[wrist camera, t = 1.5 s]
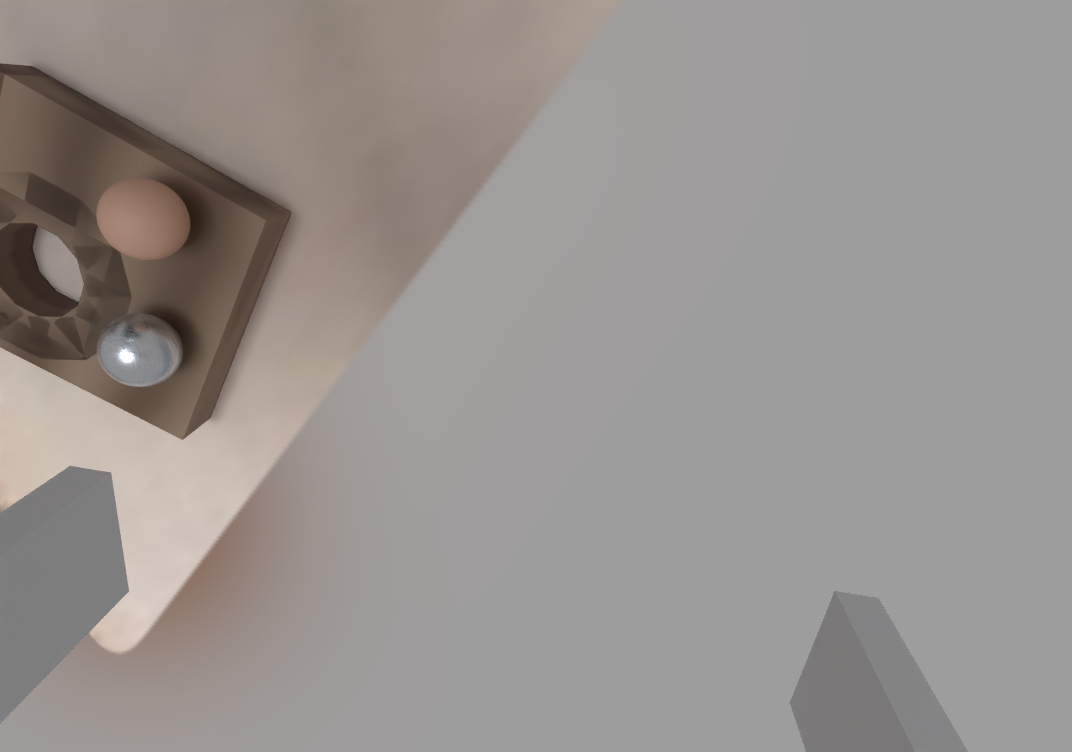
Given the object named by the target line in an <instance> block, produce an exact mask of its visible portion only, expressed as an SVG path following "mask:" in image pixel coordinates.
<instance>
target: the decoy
mask: <svg viewBox="0 0 1072 752" xmlns="http://www.w3.org/2000/svg"><path fill="white" fill-rule="evenodd" d="M96 216H97V223H98V226H99V229H100V231H101V233H102V235H103V236H104V238H105V239H106V240H107V241H108V243H109V244H110V245H112V246H113V247H114V248H115V249H117V250H118V251H119V252H121V253H123V254H125V255H127V256H129V257H132V258H136V259H141V260H157V259H162V258H165V257H168V256H170V255H172V254H174V253H175V252H177V251H178V250H179V249H180V248H181V247H182V246H183V245H184V243H185V242H186V240H187V238H188V235H189V232H190V216H189V213H188V210H187V208H186V206H185V204H184V202H183V201H182V199H181V198H180V197H179V196H178V195H177V194H176V193H175V192H174V191H173V190H172V189H170V188H169V187H167V186H166V185H164V184H162V183H160V182H157V181H154V180H151V179H146V178H129V179H125V180H121V181H119V182H117V183H115V184H113V185H111V186H110V187H109V188H108V189H107V190H106V191H105V192H104V193H103V194H102V196H101V198H100V200H99V202H98V205H97V212H96Z"/></svg>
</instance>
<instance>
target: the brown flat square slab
mask: <svg viewBox="0 0 1072 752" xmlns="http://www.w3.org/2000/svg"><path fill="white" fill-rule="evenodd" d="M129 178H146V179H151V180H154V181H157V182H160V183H162V184H164V185H166V186H167V187H169V188H170V189H172V190H173V191H174V192H175V193H176V194H177V195H178V196H179V197H180V198H181V199H182V201H183V202H184V204H185V206H186V208H187V210H188V213H189V216H190V232H189V235H188V238H187V240H186V242H185V243H184V245H183V246H182V247H181V248H180V249H179V250H178V251H177V252H175V253H174V254H172V255H170V256H168V257H165V258H162V259H157V260H141V259H136V258H132V257H129V256H127V255H125V254H123V253H121V252H119V251H118V250H117V249H115V248H114V247H113V246H112V245H110V244H109V243H108V241H107V240H106V239H105V238H104V236H103V235H102V233H101V231H100V229H99V226H98V223H97V216H96V212H97V205H98V202H99V200H100V198H101V196H102V194H103V193H104V192H105V191H106V190H107V189H108V188H109V187H110V186H111V185H113V184H115V183H117V182H119V181H121V180H125V179H129ZM290 213H291V212H289V211H287V210H286V209H284V208H282V207H280V206H278V205H277V204H275V203H273V202H271V201H270V200H268V199H266V198H264V197H263V196H261V195H259V194H257V193H255V192H254V191H252V190H250V189H248V188H247V187H245V186H243V185H241V184H240V183H238V182H236V181H234V180H232V179H231V178H229V177H227V176H225V175H224V174H222V173H220V172H218V171H216V170H215V169H213V168H211V167H209V166H208V165H206V164H204V163H202V162H201V161H199V160H197V159H195V158H193V157H192V156H190V155H188V154H186V153H185V152H183V151H181V150H179V149H177V148H176V147H174V146H172V145H170V144H169V143H167V142H165V141H163V140H162V139H160V138H158V137H156V136H154V135H153V134H151V133H149V132H147V131H146V130H144V129H142V128H140V127H138V126H137V125H135V124H133V123H131V122H130V121H128V120H126V119H124V118H123V117H121V116H119V115H117V114H115V113H114V112H112V111H110V110H108V109H107V108H105V107H103V106H101V105H100V104H98V103H96V102H94V101H92V100H91V99H89V98H87V97H85V96H84V95H82V94H80V93H78V92H76V91H75V90H73V89H71V88H69V87H68V86H66V85H64V84H62V83H61V82H59V81H57V80H55V79H53V78H52V77H50V76H48V75H46V74H45V73H43V72H41V71H39V70H37V69H36V68H34V67H32V66H23V65H11V64H0V347H1V348H3V349H5V350H7V351H9V352H11V353H13V354H15V355H17V356H19V357H21V358H23V359H25V360H27V361H28V362H30V363H32V364H34V365H36V366H38V367H40V368H42V369H44V370H46V371H48V372H50V373H52V374H54V375H56V376H58V377H60V378H62V379H64V380H66V381H68V382H70V383H72V384H74V385H76V386H78V387H80V388H82V389H84V390H86V391H88V392H90V393H92V394H94V395H95V396H97V397H99V398H101V399H103V400H105V401H107V402H109V403H111V404H113V405H115V406H117V407H119V408H121V409H123V410H125V411H127V412H129V413H131V414H133V415H135V416H137V417H139V418H141V419H143V420H145V421H147V422H149V423H151V424H153V425H155V426H157V427H159V428H161V429H162V430H164V431H166V432H168V433H170V434H172V435H174V436H176V437H178V438H180V439H182V440H183V439H184V438H186V437H187V436H188V435H189V434H191V433H192V432H193V431H194V430H196V429H197V428H198V427H200V426H201V425H202V424H203V423H205V422H206V421H207V420H208V419H210V416H211V414H212V411H213V409H214V406H215V404H216V401H217V398H218V396H219V393H220V391H221V388H222V386H223V383H224V381H225V378H226V376H227V373H228V371H229V368H230V365H231V363H232V360H233V358H234V355H235V353H236V350H237V348H238V345H239V343H240V340H241V338H242V335H243V332H244V330H245V327H246V325H247V322H248V320H249V317H250V315H251V312H252V310H253V307H254V305H255V302H256V299H257V297H258V294H259V292H260V289H261V287H262V284H263V282H264V279H265V277H266V274H267V272H268V269H269V266H270V264H271V261H272V259H273V256H274V254H275V251H276V249H277V246H278V244H279V241H280V239H281V236H282V233H283V231H284V228H285V226H286V223H287V221H288V218H289V216H290ZM37 226H40V227H42V228H44V229H45V230H47V231H49V232H51V233H53V234H55V235H57V236H58V237H59V238H60V239H61V240H62V241H63V243H64V244H65V245H66V246H67V247H68V249H69V250H70V251H71V252H72V254H73V255H74V256H75V257H76V258H77V261H78V264H79V268H80V271H81V275H82V278H83V282H84V287H83V290H82V294H81V298H80V301H79V303H77V302H75V301H73V300H71V299H70V298H68V297H66V296H64V295H62V294H60V293H58V292H56V291H55V290H54V289H53V288H52V287H51V285H50V284H49V283H48V282H47V281H46V279H45V278H44V277H43V276H42V275H41V274H40V272H39V271H38V268H37V265H36V261H35V258H34V255H33V252H32V248H31V247H32V243H33V239H34V234H35V230H36V227H37ZM137 313H141V314H149V315H153V316H156V317H159V318H161V319H163V320H165V321H166V322H168V323H169V324H170V325H171V326H172V327H173V328H174V329H175V330H176V331H177V333H178V334H179V336H180V338H181V341H182V345H183V357H182V361H181V364H180V366H179V368H178V369H177V371H176V372H175V373H174V374H173V375H172V376H171V377H169V378H168V379H167V380H165V381H163V382H161V383H159V384H156V385H153V386H148V387H134V386H129V385H125V384H122V383H120V382H118V381H116V380H115V379H113V378H112V377H110V376H109V375H108V374H107V373H106V372H105V371H104V369H103V368H102V366H101V365H100V363H99V360H98V356H97V342H98V339H99V336H100V334H101V333H102V331H103V330H104V329H105V327H106V326H107V325H108V324H110V323H111V322H112V321H114V320H116V319H117V318H119V317H122V316H125V315H129V314H137Z"/></svg>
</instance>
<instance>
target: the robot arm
mask: <svg viewBox="0 0 1072 752" xmlns="http://www.w3.org/2000/svg"><path fill="white" fill-rule="evenodd" d="M128 592H129V588H128V581H127V575H126V568H125V562H124V555H123V549H122V542H121V535H120V529H119V522H118V516H117V509H116V503H115V496H114V489H113V483H112V476H111V473H110V472H104V471H98V470H91V469H85V468H79V467H73V466H69V467H68V468H66V469H65V470H63V471H62V472H61V473H59V474H58V475H56V476H55V477H53V478H52V479H50V480H49V481H47V482H46V483H44V484H43V485H41V486H40V487H38V488H37V489H35V490H34V491H32V492H31V493H29V494H28V495H26V496H25V497H24V498H22V499H21V500H19V501H18V502H16V503H15V504H13V505H12V506H10V507H9V508H7V509H6V510H4V511H3V512H1V513H0V723H1V722H2V721H3V720H4V719H5V718H6V717H7V716H8V715H9V714H10V713H11V712H12V711H13V710H14V709H15V708H16V707H17V706H18V705H19V704H20V703H21V702H22V701H23V700H24V699H25V697H26V696H28V694H29V693H30V692H31V691H32V690H33V689H34V688H35V687H36V686H37V685H38V684H39V683H40V682H41V681H42V680H43V679H44V678H45V677H46V676H47V675H48V674H49V673H50V672H51V671H52V670H53V669H54V668H55V667H56V666H57V665H58V664H59V663H60V662H61V661H62V659H63V658H64V657H65V656H66V655H67V654H68V653H69V652H70V651H71V650H72V649H73V648H74V647H75V646H76V645H77V644H78V643H79V642H80V641H81V640H82V639H83V638H84V637H85V636H86V635H87V634H88V633H89V632H90V631H91V630H92V629H93V628H94V627H95V626H96V624H97V623H98V622H99V621H100V620H101V619H102V618H103V617H104V616H105V615H106V614H107V613H108V612H109V611H110V610H111V609H112V608H113V607H114V606H115V605H116V604H117V603H118V602H119V601H120V600H121V599H122V598H123V597H124V596H125V595H126V594H127V593H128ZM790 704H791V708H792V710H793V713H794V717H795V719H796V723H797V726H798V729H799V732H800V735H801V737H802V741H803V744H804V747H805V750H806V752H968V751H967V749H966V748H965V746H964V744H963V742H962V741H961V739H960V737H959V736H958V734H957V732H956V730H955V729H954V727H953V726H952V724H951V722H950V720H949V718H948V717H947V715H946V713H945V712H944V710H943V708H942V706H941V705H940V703H939V701H938V699H937V698H936V696H935V694H934V693H933V691H932V689H931V687H930V686H929V684H928V682H927V681H926V679H925V677H924V675H923V674H922V672H921V670H920V669H919V667H918V665H917V663H916V662H915V660H914V658H913V656H912V655H911V653H910V652H909V650H908V648H907V646H906V644H905V643H904V641H903V639H902V638H901V636H900V634H899V632H898V631H897V629H896V627H895V625H894V624H893V622H892V620H891V619H890V617H889V615H888V614H887V612H886V610H885V609H884V607H883V605H882V603H881V601H880V600H879V598H875V597H868V596H862V595H856V594H850V593H843V592H838V591H835V592H834V595H833V597H832V599H831V602H830V605H829V607H828V610H827V612H826V615H825V617H824V619H823V622H822V624H821V627H820V629H819V632H818V634H817V637H816V639H815V641H814V644H813V647H812V649H811V651H810V654H809V657H808V659H807V662H806V664H805V666H804V669H803V671H802V674H801V676H800V679H799V681H798V684H797V686H796V689H795V691H794V694H793V696H792V699H791V701H790Z"/></svg>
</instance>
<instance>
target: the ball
mask: <svg viewBox="0 0 1072 752" xmlns="http://www.w3.org/2000/svg"><path fill="white" fill-rule="evenodd" d="M97 356H98V360H99V363H100V365H101V366H102V368H103V369H104V371H105V372H106V373H107V374H108V375H109V376H110V377H112V378H113V379H115V380H116V381H118V382H120V383H122V384H125V385H129V386H134V387H148V386H153V385H156V384H159V383H161V382H163V381H165V380H167V379H168V378H169V377H171V376H172V375H173V374H174V373H175V372H176V371H177V369H178V368H179V366H180V364H181V361H182V357H183V345H182V341H181V338H180V336H179V334H178V333H177V331H176V330H175V329H174V328H173V327H172V326H171V325H170V324H169V323H168V322H166V321H165V320H163V319H161V318H159V317H156V316H153V315H149V314H141V313H137V314H129V315H125V316H122V317H119V318H117V319H116V320H114V321H112V322H111V323H110V324H108V325H107V326H106V327H105V329H104V330H103V331H102V333H101V334H100V336H99V339H98V342H97Z"/></svg>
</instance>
